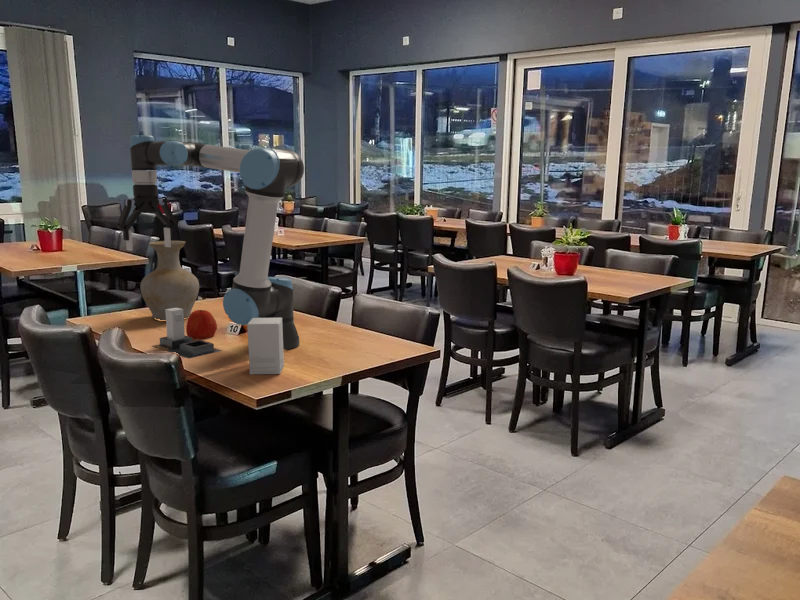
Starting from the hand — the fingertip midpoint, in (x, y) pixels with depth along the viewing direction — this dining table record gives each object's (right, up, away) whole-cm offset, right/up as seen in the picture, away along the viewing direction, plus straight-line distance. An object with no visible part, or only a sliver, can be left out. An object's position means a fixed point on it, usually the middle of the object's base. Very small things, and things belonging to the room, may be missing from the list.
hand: (149, 248), depth 221 cm
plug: (+10, -32, -4) cm, 34 cm away
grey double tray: (+15, -34, -7) cm, 37 cm away
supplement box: (+44, -38, -26) cm, 64 cm away
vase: (-7, -24, +43) cm, 50 cm away
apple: (+15, -31, +9) cm, 35 cm away
